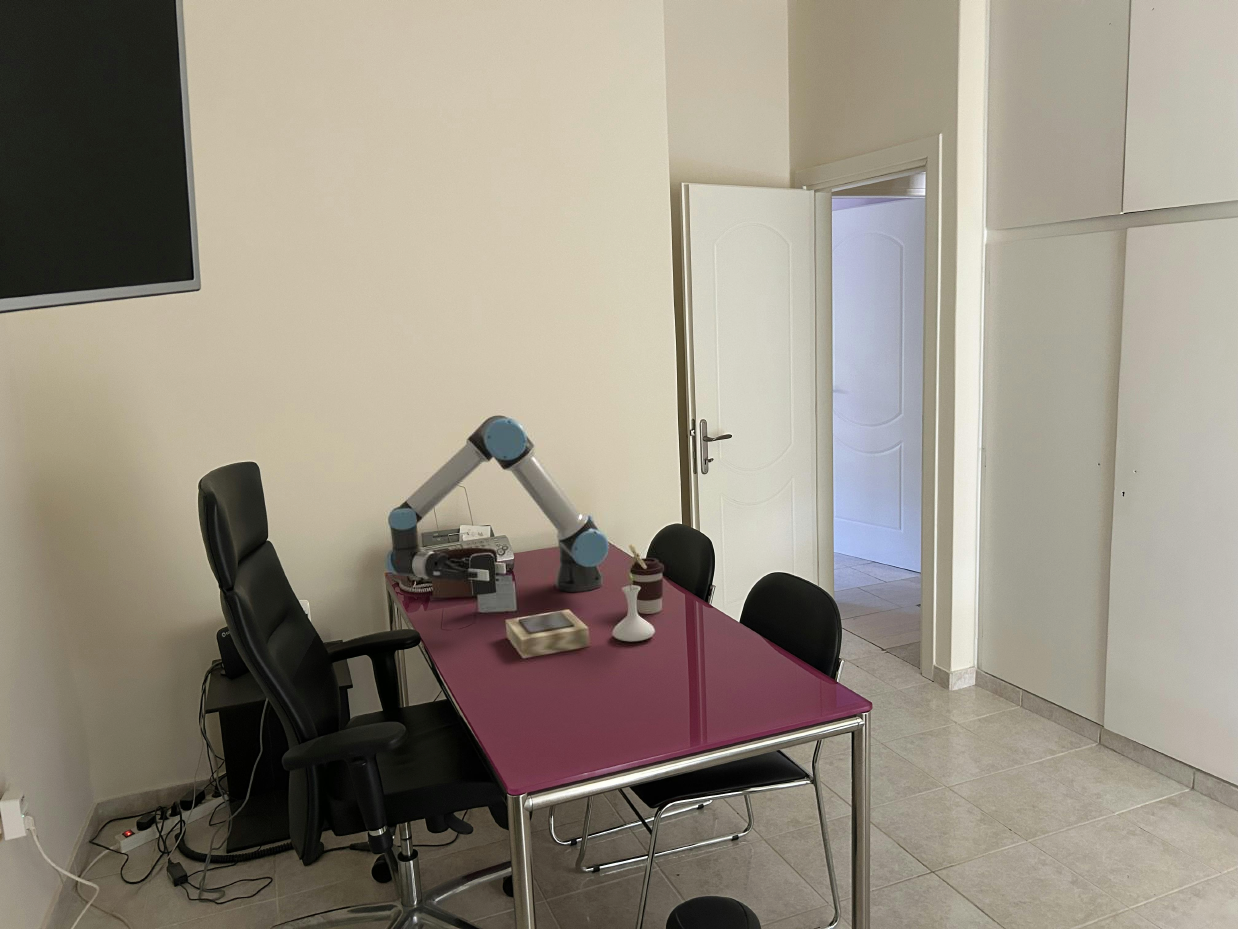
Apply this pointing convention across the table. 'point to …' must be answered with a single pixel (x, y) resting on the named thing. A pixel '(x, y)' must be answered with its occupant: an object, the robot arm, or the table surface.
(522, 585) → the table surface
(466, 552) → the letter holder
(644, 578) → the coffee cup
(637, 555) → the flower in vase
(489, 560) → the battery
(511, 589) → the ink box
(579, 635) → the stand
